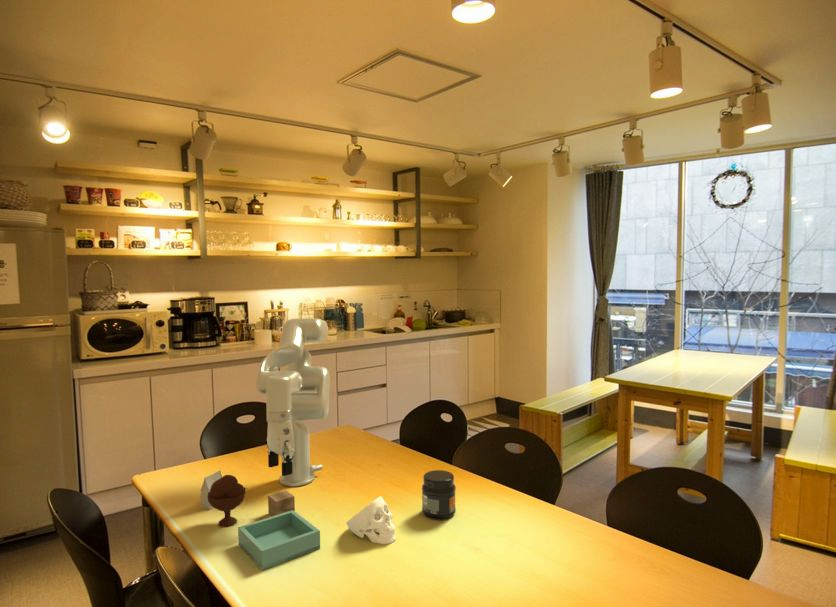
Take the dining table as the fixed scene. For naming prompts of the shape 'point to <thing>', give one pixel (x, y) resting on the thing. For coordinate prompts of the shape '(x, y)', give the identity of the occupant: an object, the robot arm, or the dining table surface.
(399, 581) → the dining table surface
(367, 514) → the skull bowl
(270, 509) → the walnut cube
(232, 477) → the ice cream bowl
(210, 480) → the tea bag
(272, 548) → the stoneware box
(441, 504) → the supplement container
